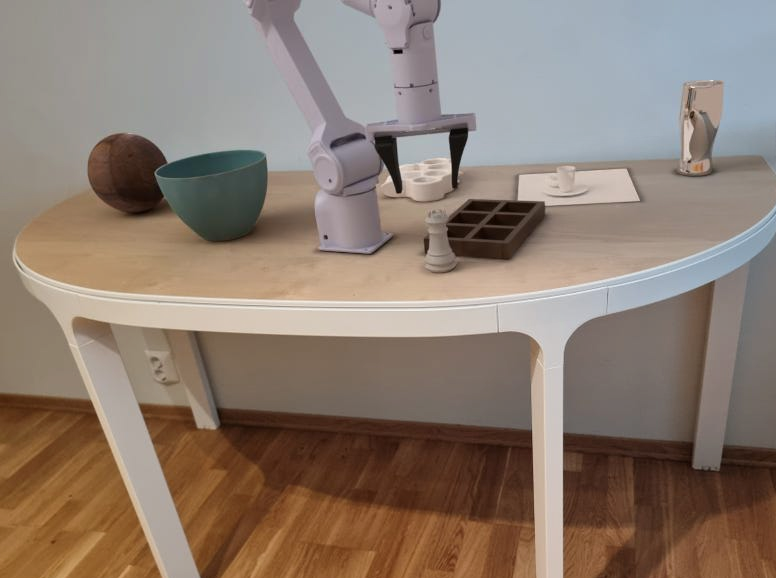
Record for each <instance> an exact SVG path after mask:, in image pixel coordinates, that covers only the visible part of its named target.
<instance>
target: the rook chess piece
mask: <svg viewBox="0 0 776 578" xmlns="http://www.w3.org/2000/svg"><path fill="white" fill-rule="evenodd" d="M448 219H449V215H448V214H447V212H446V210H444V209H440V208H439V209H438V210H437V212H436V209H431V211H430V210H428V211H427V213H426V217H425V219H424V222H425V223H426V224H427V225H428V229H427V232H428V234H429V236H430V243H429V250H428V252H427V253H428V254H426V255H425V258H424V261H425V262H426V263H425V265H424V267H425V269H427V270H428V271H429V272H431V273H435V274H442V273H448V272H450V271H452V270H454V269H455V267H456V266H457V261H456V258H457V256H455V254H454V253H453V252H452V249H451V248H450V246H449V242H448V238H447V230H448V228H447V227H446V223H447V221H448Z"/></svg>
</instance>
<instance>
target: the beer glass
mask: <svg viewBox="0 0 776 578" xmlns="http://www.w3.org/2000/svg"><path fill="white" fill-rule="evenodd" d="M724 84H725V83H724V81H722V80H717V79H700V80H691V81H686V82H684V83H682V84H681V85H682V86H681V92H680V99H679V105H678V106H679V107H678V132H679V140H680V153H679V155H680V156H679V160H678V164H677V168H676V174H679V175H681V176H686V177H701V176H707V175H711V174H712V173H713V171H714V167H713V150H714V146H715V141H716V137H717V134H718V130H719V128H720V123H721V119H722V113H723V105H724Z"/></svg>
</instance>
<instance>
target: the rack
mask: <svg viewBox="0 0 776 578" xmlns="http://www.w3.org/2000/svg"><path fill="white" fill-rule="evenodd" d="M545 216H546V206H545V201H519V200H518V199H517V200H516V199H515V200H514V199H513V200H512V199H486V198H485V199H483V198H468V199H467V200H466V201H465V202H464V203H463V204H461V205H460V206H459V207H458V208H457V209H455V211H453V212H452V213H451V214H450V215H448V217H449V219H448V221H447V223H446V227H447V228H448V230H447V238H448V242H449V246H450V248H451V249H452V252H453V253H454V254H455V256H456V257H467V258H468V257H469V258H482V259H495V260H497V259H498V260H510V259H511V257H513V255H514V254H515V253H516V252H517V250H518V249H519V248H520V247H521V245H522V244H524V242H525V241H526V239H527V238H528V237H529V236H530V235H531V234H532V232H533V231H534V230H535V229H536V227H537V226H538V225H539V223H540V222H541V221H542V220H543V219H544V218H545ZM429 243H430V236H429V233H428V234H427V235H425V236H424V237H423V246H424V248H423V249H424V254H426V255H427V254H428V253H427V252H428V250H429Z"/></svg>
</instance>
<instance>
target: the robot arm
mask: <svg viewBox="0 0 776 578" xmlns="http://www.w3.org/2000/svg"><path fill="white" fill-rule="evenodd" d="M241 1H242V3H243V4H244V6H245V8H246V10H247V12H248V14H249V15H250V16H251V19H252V22H253V25H254V27H255V29H256V31H257V33H258V35H259V37H260V38H261V41H262V43H263V44H264V46H265V48H266V49H267V52H268V53H269V55H270V57H271V59H272V60H273V64H275V66H276V68H277V70H278V72H279V73H280V76H281V77H282V79H283V82H284V83H285V85H286V87H287V88H288V90H289V92H290V94H291V96H292V98H293V99H294V102H295V103H296V105H297V107H298V109H299V111H300V112H301V114H302V116H303V118H304V120H305V122H306V123H307V125H308V127H309V129H310V131H311V133H312V134H313V135H312V137H311V139H310V142H309V144H308V147H307V150H306V155H307V157H308V159H309V161H310V163H311V167H312V171H313V172H312V173H313V176H314V179H315V180H316V182H317V184H318V185H319V187H320V188H321V189H319V191H318V192H317V194H316V196H315V199H314V214H315V220H316V221H315V222H316V226H317V233H318V239H319V243H320V245H319V246H318V248H317V249H318V251H326V252H341V253H351V254H353V253H354V254H367V255H368V254H372V253H374V252H376V250H378V249H379V248H380V247H381V246H383V245H384V244H385V243H386V242H388V241H389V240H390V239H392V238H393V237H394V233H392V232H383V229H382V222H381V214H380V207H379V199H378V191H377V184H379V183H380V180H379V179H380V178H379V177H380V175H381V174H382V173H383V171H384V167H385V168H386V169H387V171H388V174H389V176H391V178H392V181H393V184H394V187H395V190H396V194H400V193H402V190H403V187H402V179H401V174H400V169H399V166H400V162H399V154H398V139H397V138H405V137H414V136H415V137H416V136H426V135H436V134H445V133H446V134H447V133H449V135H448V145H449V154H450V159H451V166H452V189H454V190H455V189H458V187H459V183H458V180H459V177H458V171H460V165H461V161H462V159H463V158H462V157H463V154H464V152H465V151H464V150H465V148H466V145H467V142H468V139H469V132H476V131H477V121H476V120H477V117H476V112H470V113H469V112H468V113H446V114H442V107H441V96H440V87H439V76H438V75H439V73H438V63H437V53H436V51H437V50H436V42H435V40H436V39H435V29H434V24H435V23H436V21H437V20H438V18H439V17H440V13H441V9H442V0H340V1H341V2H342V4H344V5H345V6H347V7H348V8H351V9H354V10H355V11H358V12H361V13H363V14H365V15H366V16H369V17H371V18H374V19H375V20H376V22H377V24H378V25H379V27H380V28H381V29H382V30H381V31H382V32H383V36H384V42H385V44H386V46H387V48H388V49H389V54H390V56H389V57H390V65H391V74H392V81H393V82H392V83H393V91H394V98H395V107H396V115H397V119H391V120H385V121H380V122H371V123H366V124H365V126H364V125H362V123H360V122H357V121H354V120H352V119H351V118H349V117H347V116H346V114H345V113H344V111H343V109H342V107H341V106H340V103H339V102H338V100H337V98H336V96H335V94H334V92H333V90H332V89H331V87H330V84H329V83H328V82H327V79H326V77H325V76H324V74H323V72H322V70H321V68H320V66H319V64H318V62H317V61H316V59H315V57H314V55H313V53H312V51H311V49H310V47H309V46H308V43H307V41H306V40H305V38H304V36H303V34H302V33H301V30H300V28H299V26H298V25H297V23H296V21H295V13H296V12H297V11H298V10H299V9H300V6H301V4H302V0H241Z"/></svg>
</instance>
